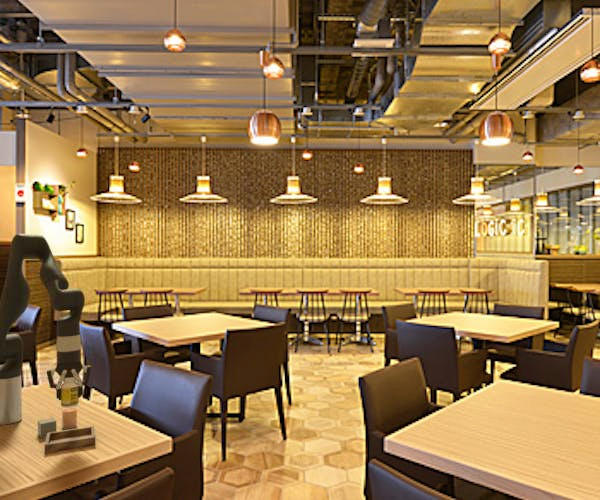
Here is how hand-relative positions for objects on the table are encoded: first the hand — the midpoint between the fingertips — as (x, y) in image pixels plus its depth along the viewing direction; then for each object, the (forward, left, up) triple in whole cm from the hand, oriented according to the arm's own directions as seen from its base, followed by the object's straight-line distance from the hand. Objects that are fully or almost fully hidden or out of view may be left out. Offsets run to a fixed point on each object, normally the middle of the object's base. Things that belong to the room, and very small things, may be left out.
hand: (69, 398), depth 171 cm
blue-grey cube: (-8, +13, -15) cm, 22 cm away
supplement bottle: (0, 0, -3) cm, 3 cm away
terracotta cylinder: (-1, +18, -15) cm, 23 cm away
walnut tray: (0, 0, -15) cm, 15 cm away
